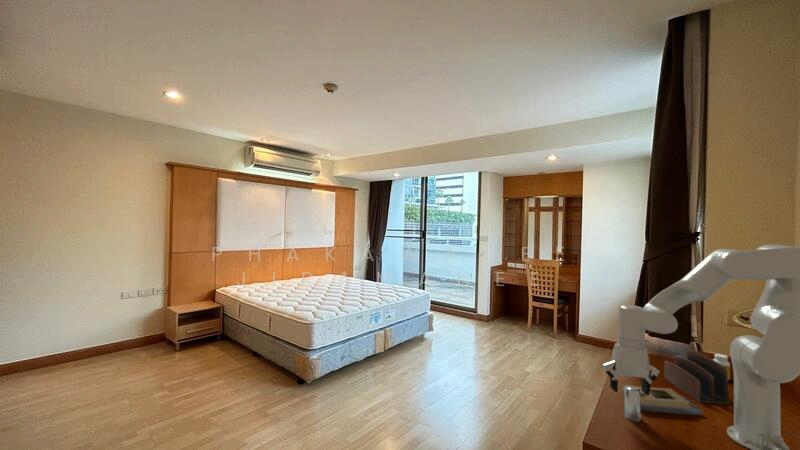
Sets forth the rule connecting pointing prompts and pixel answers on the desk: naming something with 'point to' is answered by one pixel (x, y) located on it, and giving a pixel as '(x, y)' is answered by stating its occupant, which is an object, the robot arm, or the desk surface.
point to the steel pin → (632, 403)
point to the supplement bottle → (723, 362)
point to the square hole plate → (666, 402)
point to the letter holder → (699, 377)
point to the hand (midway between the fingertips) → (629, 391)
